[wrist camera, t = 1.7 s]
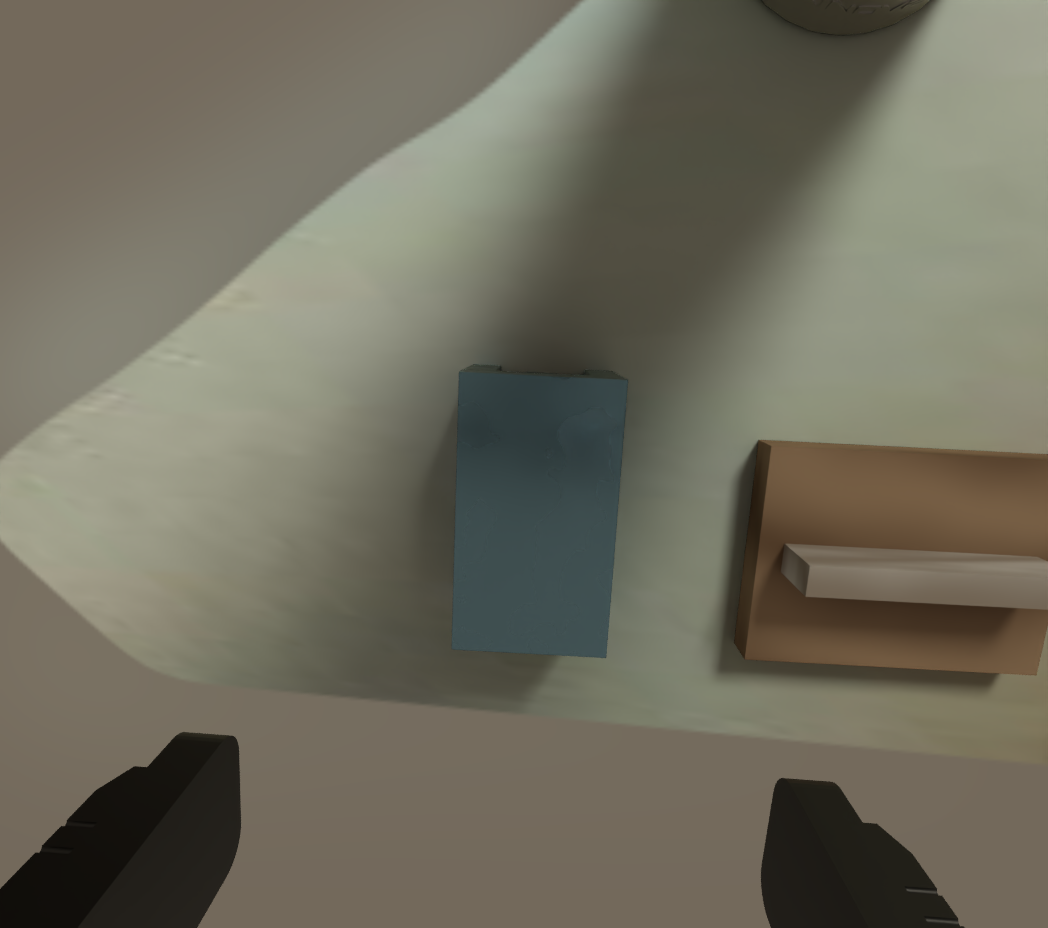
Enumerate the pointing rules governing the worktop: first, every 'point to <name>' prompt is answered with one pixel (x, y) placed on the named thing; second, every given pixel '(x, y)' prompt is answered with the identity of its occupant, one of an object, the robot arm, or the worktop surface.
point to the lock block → (536, 510)
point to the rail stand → (896, 558)
